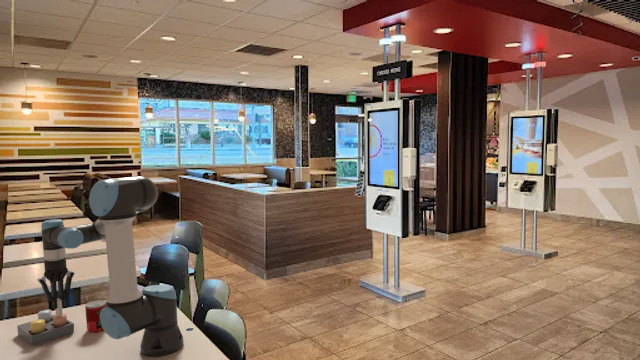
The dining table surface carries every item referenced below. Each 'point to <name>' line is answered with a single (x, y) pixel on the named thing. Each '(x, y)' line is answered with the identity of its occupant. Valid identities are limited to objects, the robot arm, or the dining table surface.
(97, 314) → the canned food
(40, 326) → the button mustard
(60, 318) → the salmon pink rounded dome
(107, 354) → the dining table surface
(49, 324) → the button panel
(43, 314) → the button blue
